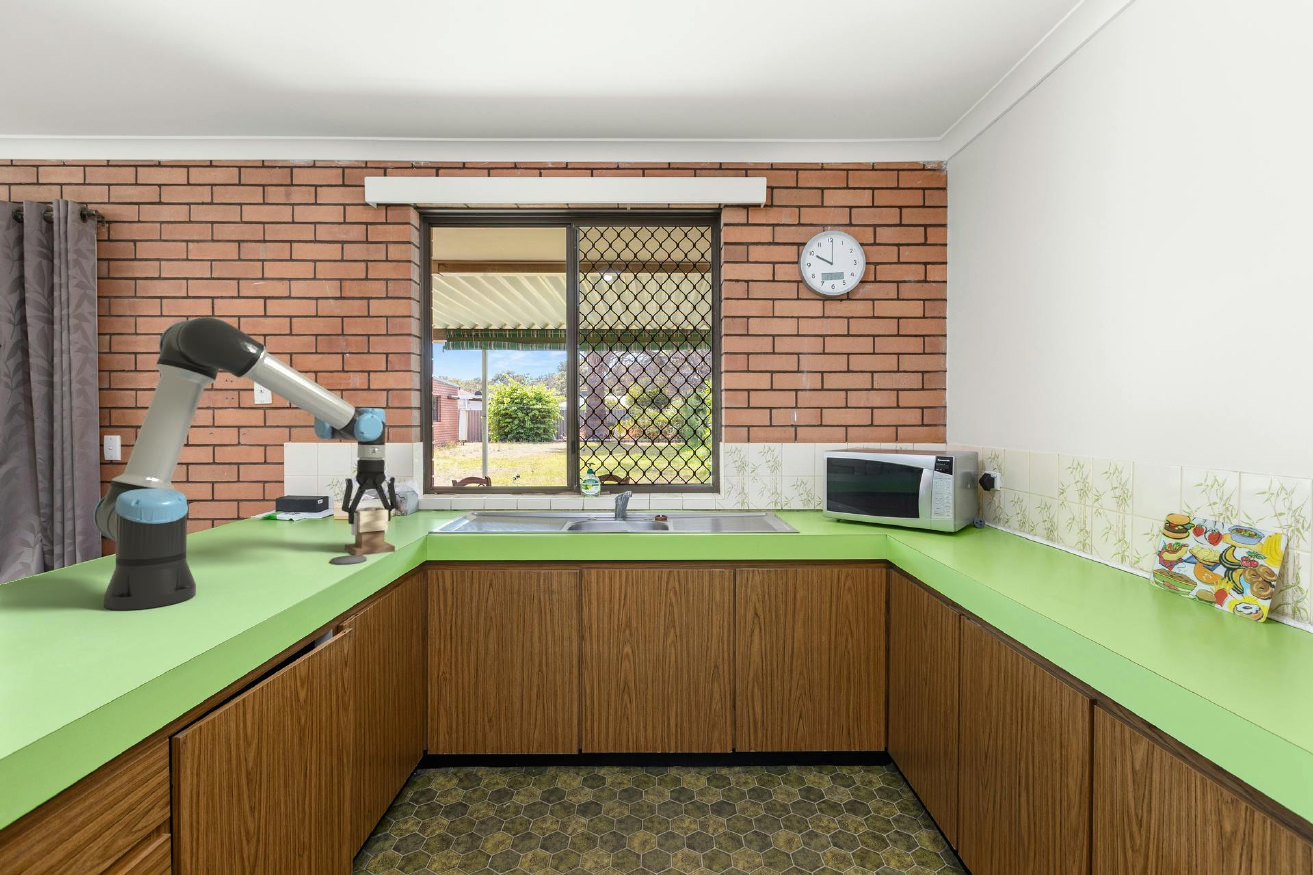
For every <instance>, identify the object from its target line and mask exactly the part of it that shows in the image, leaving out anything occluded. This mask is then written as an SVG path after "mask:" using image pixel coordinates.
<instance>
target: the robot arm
mask: <svg viewBox="0 0 1313 875" xmlns="http://www.w3.org/2000/svg"><path fill="white" fill-rule="evenodd" d="M158 342H159V343H158V344H159V346H158V348H159V351H160V352H159V356H158V359H157V360H156V364H155V367H156V369H157V370H158V371H159V373H160V377H159V379H158V383H157V385H156V388H155V390H154V394H153V395H152V399H151V401H150V404H149V407H148V409H147V411H146V413H145V414H146V415H145V417H144V419H143V422H142V424H141V428H140V430H139V432H138V436H137V438H136V441H135V443H134V446H133V448H132V451H131V454H130V457H129V459H128V462H127V464H126V467H125V469H124V471H123V473H122V474H120V475H117V476H116V477H114V478H112V479H111V482H110V485H109V487H108V490H107V492H106V495H104V496H103V497H102V498H101V499H100V500H99V501H98V503H97V504H96V506H95V508H94V510H93V522H94V525H95V527H96V529H97V530H98V531H99V532H100V533H101V534H102V536H104V537H105V538H106V539H109V540H111V541H114V542H115V569H114V571H113V573H112V576H111V577H110V581H109V584H108V586H107V588H106V590H105V593H104V596H103V606H104V608H106V609H110V610H119V611H120V610H123V611H125V610H126V611H128V610H144V609H151V608H152V609H153V608H158V607H165V606H168V605H174V604H177V603H182V602H184V601H187V600H190V599H192V598H193V597H195V596H196V595H197V585H196V582H195V579H194V576H193V574H192V571H191V570H190V566H189V564H188V561H187V541H188V540H187V539H188V537H187V533H188V532H187V528H188V526H187V525H188V511H189V507H188V501H187V497H186V495H185V494H184V493H183V492H181V491H178V490H176V488H175V487H174V485H173V484H172V478H173V476H174V474H175V470H176V468H177V465H178V462H179V459H180V457H181V454H182V452H183V450H184V449H183V448H184V446H185V443H186V441H187V437H188V435H189V433H190V432H189V431H190V429H191V427H192V423H193V420H194V418H195V415H196V412H197V409H198V407H199V404H200V401H201V399H202V396H203V393H204V390H205V388H206V387H208V386H209V385H211V384H214V383H215V382H216V380H217V377H218V373H219V372H220V370H221V371H224V372H226V373H229V374H230V375H233V376H234V377H237V379H238V378H239V379H241V378H246V379H249V381H250V380H251V381H252V382H254V383H255V384H258V385H260V386H261V387H262V388H264V389H266V390H268V391H270V392H271V393H272V394H274V395H277V396H278V397H280V398H282V399H283V400H286V401H287V402H289V403H291V404H292V405H294V406H296V407H298V408H300V409H301V410H302V411H304V412H307V413H309V415H311V416H313V417H315V419H314V423H313V425H314V428H313V430H314V434H315V435H316V437H317V438H318V439H320V440H328V441H329V440H330V441H331V440H343V441H345V440H346V441H357V451H356V452H357V454H356V455H357V458H359V459H358V460H357V462H356V464H357V465H356V466H357V467H356V475H355V476H354V477H350V478H349V477H347V478H345V491H344V495H343V500H342V504H341V505H342V506H341V511H342V512H344V513H347V514H348V518H347V520H348V524H349V525H352V529H351V534H350V535H352V536H354V537H355V536H356V535H357V513H354V512H355V510H356V509H358V505H359V504H360V502H361V499H362V497H363V496H364V494H365V493H366V491H368V490H369V491H370V490H375V491H376V492H377V495H378V498H379V499H380V502H381V503H382V506H383V509H386V510H388V522H391V518H392V517H391V516H392V514H391V513H392V511H393V510H395V509H398V502H397V496H396V495H397V494H396V490H395V489H396V488H395V481H396V478H395V477H394V476H386V474H385V459H383V458H386V457H385V455H386V454H385V452H386V451H385V450H386V424H387V421H386V411H385V410H384V409H383V408H375V407H373V408H372V407H371V408H370V407H361V408H357V407H355V406H354V405H352V404H351V403H349V402H347V401H346V400H344V399H343V398H341V397H340V396H338V395H336V394H334V393H333V392H331V391H330V390H328V389H326V388H325V387H323V386H321V385H320V384H319V383H317V382H316V381H314V380H312V379H311V378H309V377H307V376H306V375H304V374H302V373H301V372H300V371H297V370H296V369H294V368H293V367H291V366H290V365H288V364H286V363H285V362H283V361H282V360H280V359H278V358H277V357H275V356H273V355H272V354H271V353H269V352H268V351H267V349H266V346H265V345H264V344H262V343H261V342H260V341H258V340H256V339H254V338H253V337H252V336H250V335H248V334H247V333H245V332H244V331H242V330H241V329H239V328H237V327H235V326H234V325H233V324H231V323H229V322H226V321H224V320H221V319H219V318H215V317H207V316H206V317H198V318H193V319H189V320H181V321H179V322H176V323H174V324H172V325H170V326H169V327H168V328H167V329H165V330H164V332H163V333H162V334H161V336H160V339H159V341H158ZM384 482H385V483H386V484H387V485H386V487H387V490H388V491H387V492H388V497H389V499H388V498H387V495H386V492H385V491H384V488H383V484H384ZM356 483H357V484H358V487H357V490H356V493H355V495H354V497H353V500H352V501H351V499H352V496H353V495H352V494H353V489H354V485H355V484H356ZM383 531H385V533H386V534H387V533H388V530H383Z"/></svg>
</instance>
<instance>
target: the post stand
mask: <svg viewBox="0 0 1313 875" xmlns="http://www.w3.org/2000/svg"><path fill="white" fill-rule="evenodd" d="M375 507H376V506H375ZM375 507H374V506H373V507H372V506H370V507H364V508H365V511H374V510H375ZM354 537H355V538H354V543H348V544H347V543H346V544H344V550H345V551H347V552H348V553H351V555H360V556H366V555H372V554H381V553H382V554H383V553H392V552H395V550H396V546H395V545H393V544H392V543H391V544H390V543H388V542H386V541H385V531H383V530H381V531H370V532H358V531H357V535H356V536H354Z"/></svg>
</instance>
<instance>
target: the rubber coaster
mask: <svg viewBox="0 0 1313 875" xmlns="http://www.w3.org/2000/svg"><path fill="white" fill-rule="evenodd" d="M367 559H368V558H367V556H366V555H354V554H351V555H341V556H336V557H333V558H331V559H330V564H332V565H343V566H345V565H347V566H348V565H355V564H361V563H363V562H366V561H367Z"/></svg>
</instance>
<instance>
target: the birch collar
mask: <svg viewBox="0 0 1313 875" xmlns="http://www.w3.org/2000/svg"><path fill="white" fill-rule="evenodd" d="M365 508H366V507H364V508H363V507H361V508H359V507H358V508H356V510H355V512H354V513H357V531H358V532H370V531H381V530H387V531H388V530H389V521H388V510H386V509H385V508H384V507H379V506H377V507H376V506H375V510H374V511H365ZM350 525H351V527H350V528H351V530H352V524H350Z"/></svg>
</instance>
